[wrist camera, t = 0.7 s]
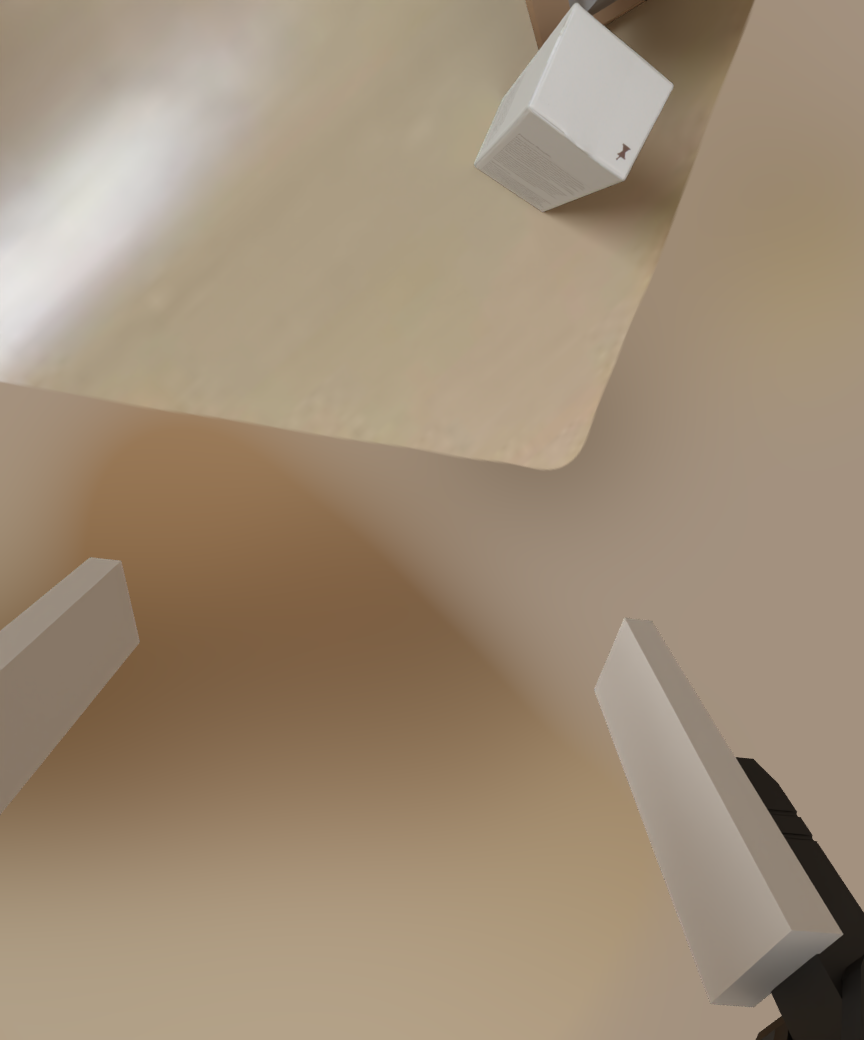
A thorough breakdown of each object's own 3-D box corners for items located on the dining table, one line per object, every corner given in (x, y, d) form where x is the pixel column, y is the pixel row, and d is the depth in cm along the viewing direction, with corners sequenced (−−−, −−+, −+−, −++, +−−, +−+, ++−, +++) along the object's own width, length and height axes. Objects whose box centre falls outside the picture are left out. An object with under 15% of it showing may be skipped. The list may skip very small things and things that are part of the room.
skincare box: (574, 148, 32) (680, 85, 21) (542, 214, 33) (626, 185, 23) (500, 93, 30) (577, -6, 19) (469, 165, 31) (525, 110, 21)
